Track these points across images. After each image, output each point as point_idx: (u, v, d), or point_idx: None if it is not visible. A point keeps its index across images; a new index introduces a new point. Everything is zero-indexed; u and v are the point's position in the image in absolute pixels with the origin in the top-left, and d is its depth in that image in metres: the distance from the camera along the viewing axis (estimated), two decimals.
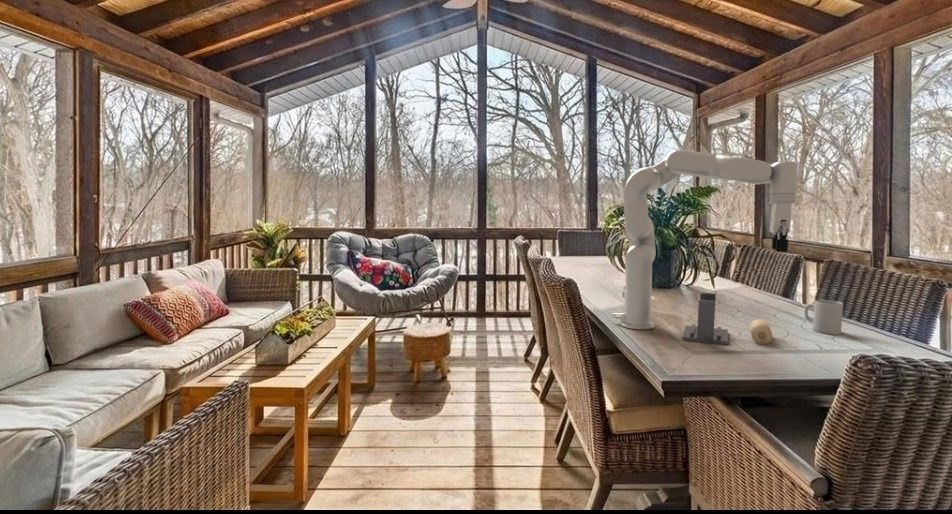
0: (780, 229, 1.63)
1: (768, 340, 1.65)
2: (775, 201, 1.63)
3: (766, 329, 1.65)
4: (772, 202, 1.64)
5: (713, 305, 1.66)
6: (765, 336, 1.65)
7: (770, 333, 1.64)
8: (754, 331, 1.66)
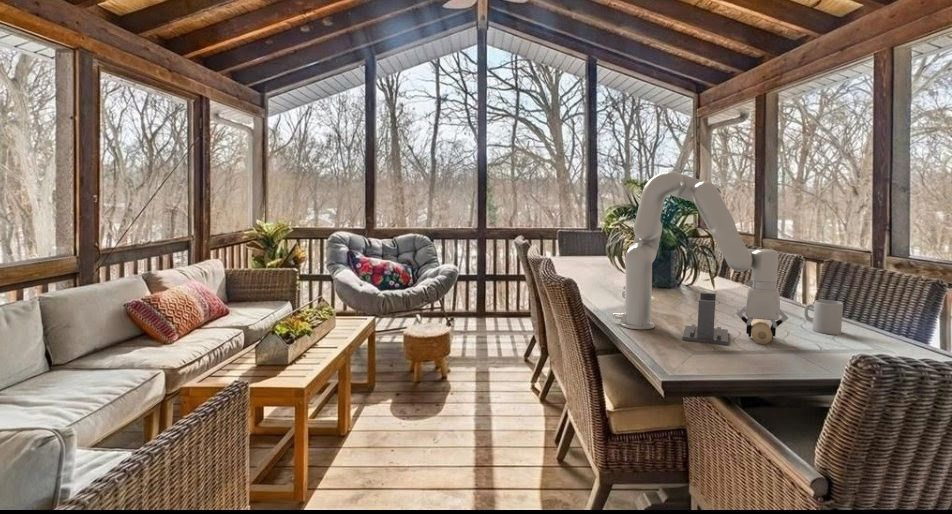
0: None
1: (768, 339, 1.65)
2: (773, 289, 1.66)
3: (766, 329, 1.65)
4: (771, 290, 1.66)
5: (713, 305, 1.66)
6: (765, 335, 1.65)
7: (770, 332, 1.64)
8: (754, 331, 1.66)
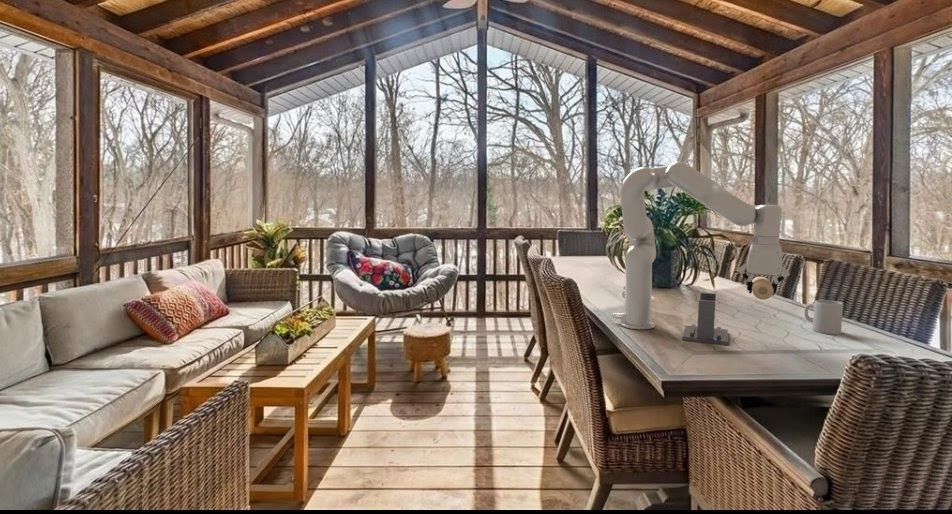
0: None
1: (769, 295, 1.63)
2: (776, 244, 1.64)
3: (767, 284, 1.63)
4: (773, 245, 1.64)
5: (713, 305, 1.66)
6: (766, 291, 1.63)
7: (771, 288, 1.63)
8: (755, 286, 1.65)
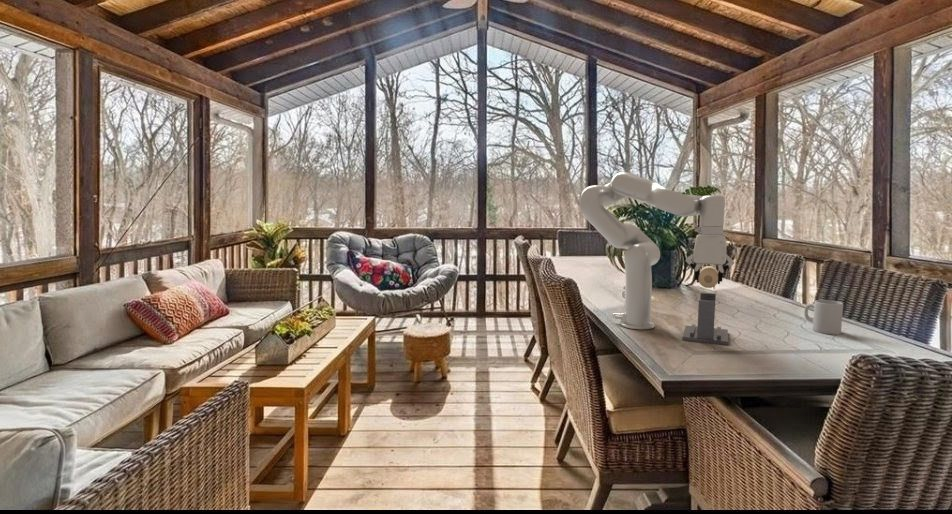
0: None
1: (714, 283, 1.67)
2: (720, 234, 1.68)
3: (712, 272, 1.67)
4: (717, 235, 1.67)
5: (713, 305, 1.66)
6: (711, 279, 1.67)
7: (716, 276, 1.66)
8: (700, 275, 1.68)
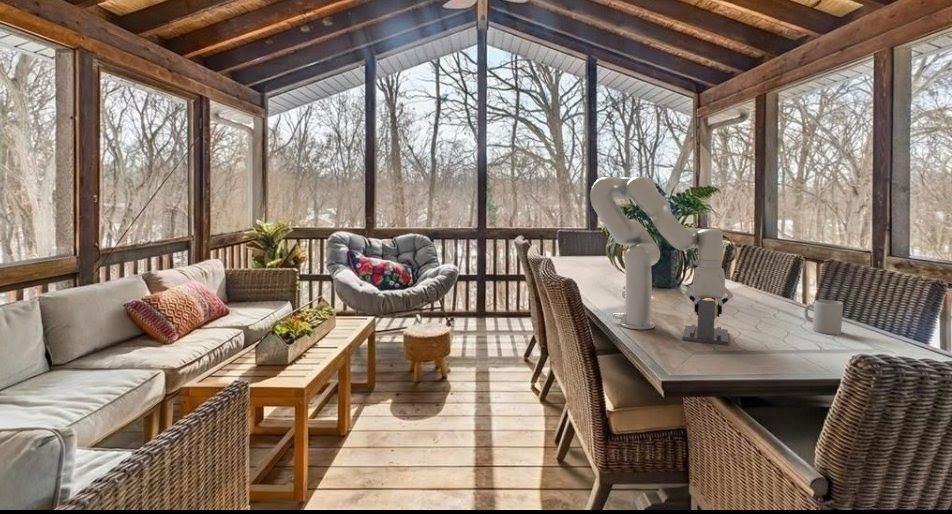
0: None
1: None
2: (718, 267, 1.69)
3: None
4: (716, 268, 1.69)
5: (713, 305, 1.66)
6: None
7: (715, 310, 1.67)
8: None
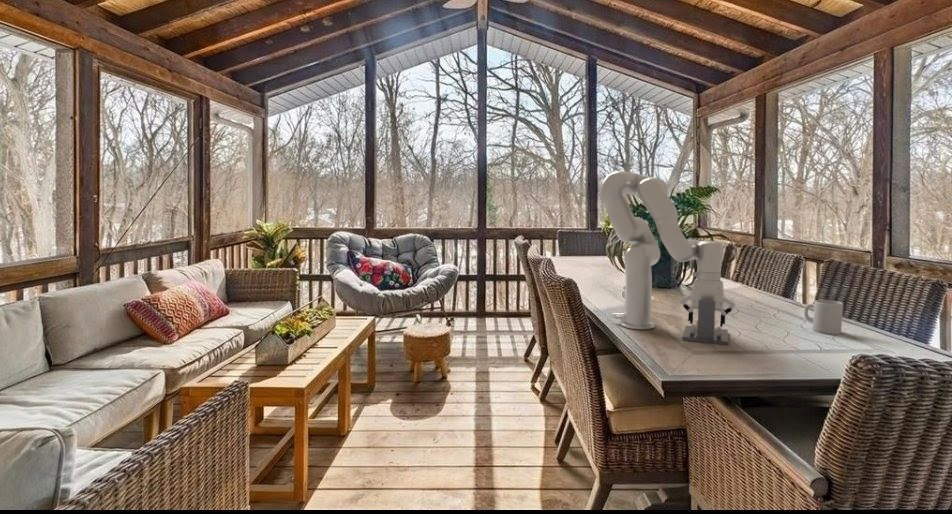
0: None
1: None
2: (717, 280, 1.69)
3: None
4: (715, 281, 1.69)
5: (713, 305, 1.66)
6: None
7: None
8: (697, 325, 1.70)
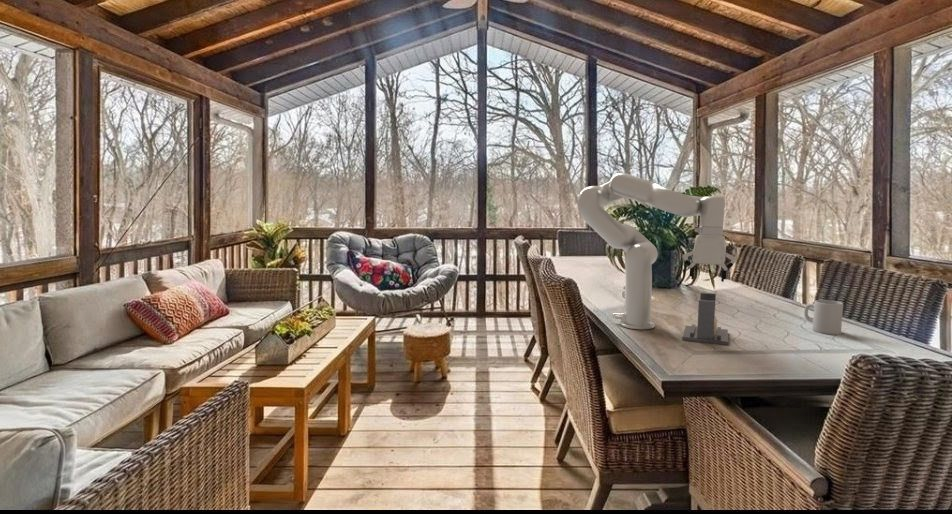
0: None
1: None
2: (719, 234, 1.70)
3: None
4: (716, 235, 1.70)
5: (713, 305, 1.66)
6: None
7: (714, 327, 1.68)
8: None
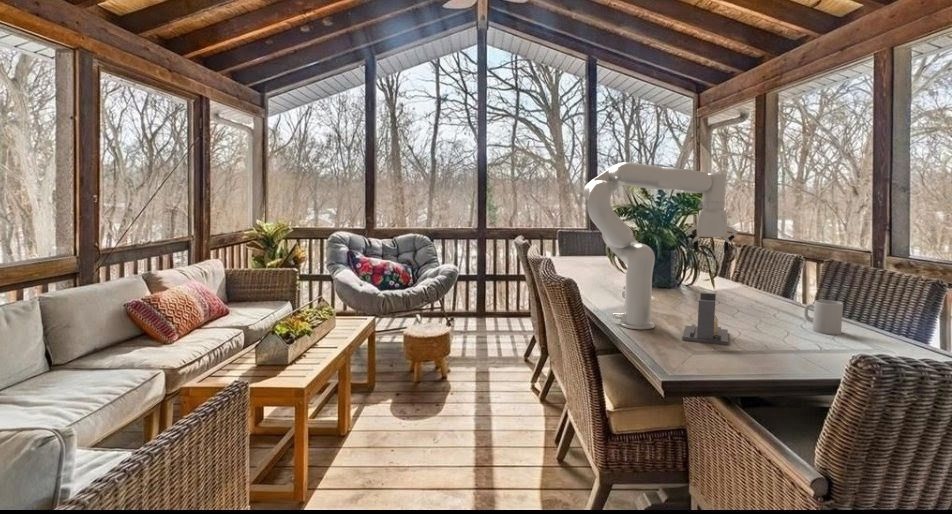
0: None
1: None
2: (721, 208, 1.82)
3: None
4: (719, 209, 1.81)
5: (713, 305, 1.66)
6: None
7: (716, 328, 1.68)
8: None
